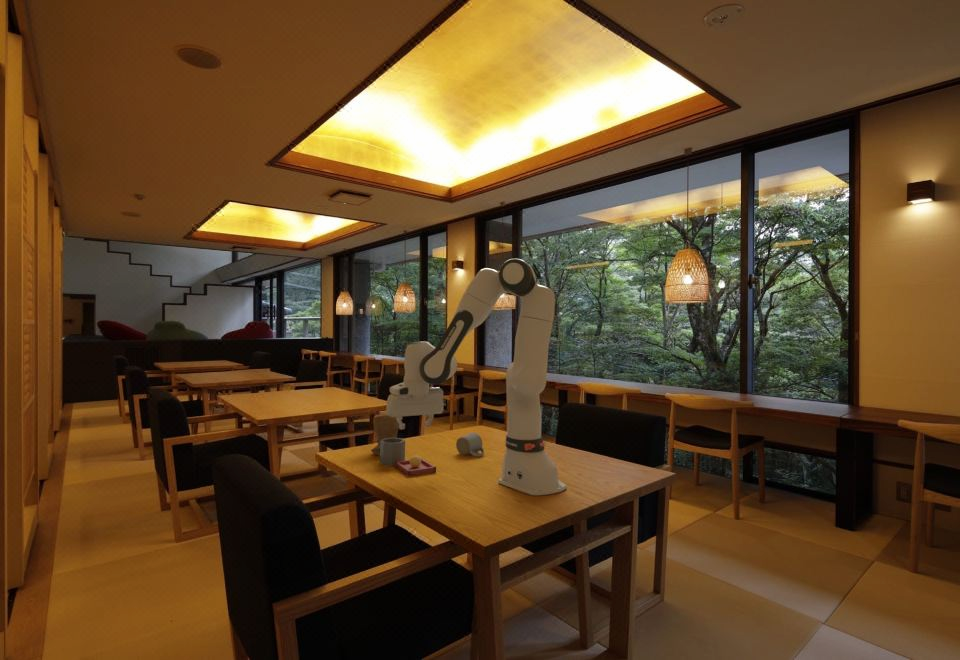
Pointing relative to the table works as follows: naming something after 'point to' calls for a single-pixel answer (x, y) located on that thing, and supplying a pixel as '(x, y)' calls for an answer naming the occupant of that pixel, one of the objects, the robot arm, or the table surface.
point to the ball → (415, 461)
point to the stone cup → (384, 429)
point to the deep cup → (392, 451)
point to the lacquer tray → (412, 471)
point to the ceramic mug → (470, 445)
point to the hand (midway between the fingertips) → (414, 428)
